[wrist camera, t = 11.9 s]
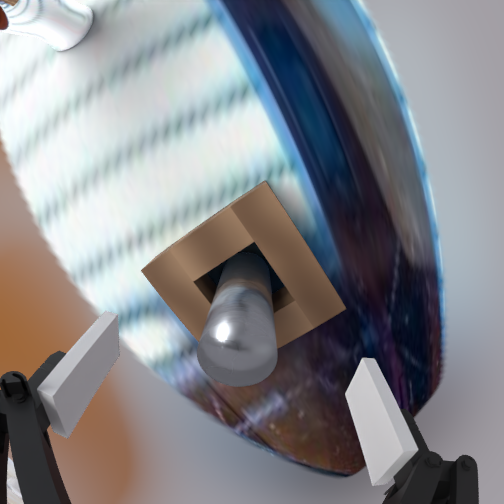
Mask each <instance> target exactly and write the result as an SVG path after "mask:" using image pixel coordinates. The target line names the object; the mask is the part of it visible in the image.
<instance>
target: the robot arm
mask: <svg viewBox="0 0 504 504" xmlns="http://www.w3.org/2000/svg"><path fill="white" fill-rule="evenodd" d="M119 355H120V352H119V332H118V314H115V313H112V312H108V311H105V312H104V313H103V314H102V315H101V316H100V317H99V318H98V319H97V320H96V322H95V323H94V324H93V325H92V326H91V327H90V328H89V329H88V330H87V332H85V334H84V335H83V336H82V337H81V338H80V339H79V340H78V342H77V343H76V344H75V345H74V346H73V347H72V348H71V349H70V351H69V352H68V353H67V354H66V353H64V352H61V351H58V352H56V353H54V354H52V355H50V356H49V357H48V359H47V360H46V361H45V363H43V364H42V365H41V366H40V368H38V370H37V371H36V372H35V373H34V374H33V375H32V377H31V378H30V379H29V380H28V381H27V379H26V377H25V376H24V375H23V374H22V373H20V372H17V371H11V372H7V373H6V374H4V375H2V377H1V378H0V387H1V390H0V504H7V463H8V449H9V439H10V446H11V451H12V457H13V462H14V467H15V471H16V476H17V480H18V484H19V488H20V492H21V495H22V499H23V502H24V504H71V502H70V499H69V497H68V494H67V491H66V489H65V486H64V483H63V481H62V478H61V475H60V472H59V469H58V466H57V463H56V460H55V457H54V453H53V450H52V447H51V443H50V439H49V435H48V432H47V428H48V427H49V425H51V427H52V429H53V432H55V433H57V434H59V435H61V436H63V437H65V438H67V439H68V438H69V436H70V434H71V433H72V431H73V429H74V428H75V426H76V424H77V423H78V421H79V419H80V417H81V416H82V414H83V412H84V411H85V409H86V408H87V406H88V404H89V403H90V401H91V399H92V398H93V396H94V395H95V393H96V391H97V390H98V388H99V387H100V385H101V383H102V381H103V380H104V379H105V377H106V375H107V374H108V372H109V371H110V369H111V367H112V366H113V365H114V363H115V361H116V360H117V358H118V357H119ZM345 395H346V399H347V402H348V405H349V408H350V411H351V414H352V418H353V421H354V424H355V427H356V431H357V434H358V437H359V440H360V444H361V447H362V451H363V454H364V457H365V461H366V464H367V468H368V471H369V475H370V478H371V482H372V485H373V486H375V485H382V484H387V483H388V482H389V481H390V480H391V479H392V478H393V477H394V480H395V484H394V485H392V486H391V487H390V488H389V489H388V490H387V491H386V492H385V495H386V494H387V493H388V492H389V493H388V494H387V496H386V498H385V500H384V501H383V503H382V504H479V498H478V497H479V495H478V494H479V492H478V470H477V464H476V462H475V460H474V459H473V458H472V457H470V456H468V455H462V456H460V457H459V458H458V459H457V460H456V461H443V459H442V458H441V456H439V454H437V453H435V452H432V451H429V449H428V447H427V445H426V443H425V441H424V439H423V437H422V435H421V433H420V431H419V430H418V427H417V425H416V422H415V421H414V418H413V416H412V415H411V414H410V413H409V412H408V411H407V410H406V409H399V407H398V405H397V403H396V400H395V398H394V396H393V394H392V392H391V390H390V388H389V386H388V384H387V382H386V380H385V378H384V376H383V374H382V372H381V370H380V368H379V367H378V365H377V363H376V361H375V359H372V358H362V360H361V362H360V364H359V366H358V369H357V371H356V373H355V375H354V377H353V379H352V381H351V383H350V385H349V387H348V389H347V391H346V393H345Z"/></svg>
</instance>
